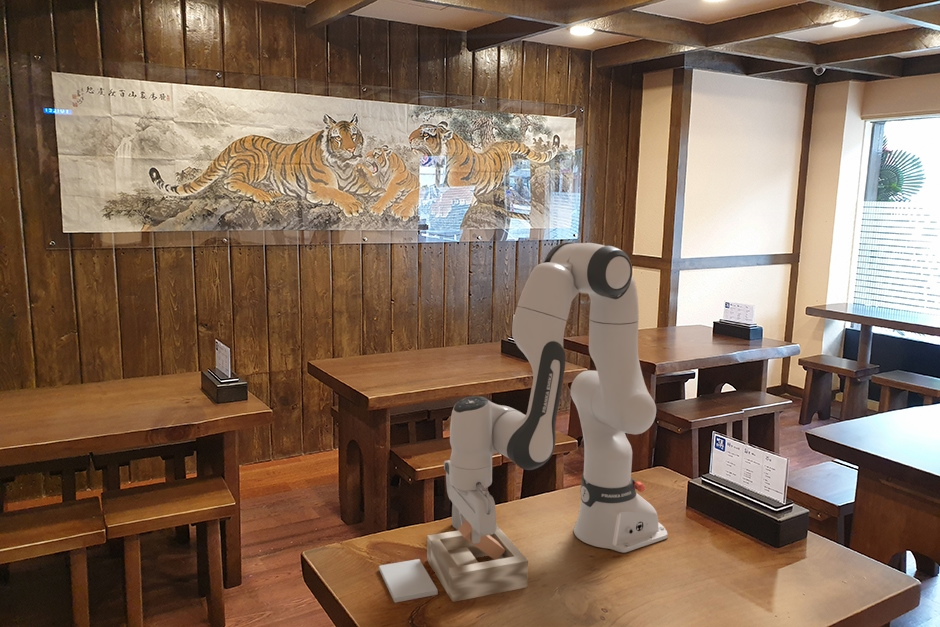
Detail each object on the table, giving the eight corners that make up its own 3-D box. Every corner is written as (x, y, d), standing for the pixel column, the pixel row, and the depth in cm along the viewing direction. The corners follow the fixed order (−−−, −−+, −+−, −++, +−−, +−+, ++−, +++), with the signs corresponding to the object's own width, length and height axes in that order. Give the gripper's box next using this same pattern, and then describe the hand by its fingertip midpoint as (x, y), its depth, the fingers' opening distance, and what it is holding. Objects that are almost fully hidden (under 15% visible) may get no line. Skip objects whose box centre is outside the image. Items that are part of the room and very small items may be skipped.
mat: (419, 563, 157) (419, 558, 157) (437, 594, 145) (437, 589, 145) (379, 570, 154) (379, 565, 154) (394, 602, 142) (394, 598, 142)
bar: (489, 552, 156) (498, 541, 156) (496, 561, 152) (505, 550, 153) (458, 529, 152) (466, 518, 152) (464, 538, 148) (473, 526, 149)
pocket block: (495, 548, 164) (496, 524, 163) (527, 587, 148) (528, 560, 147) (427, 560, 158) (427, 535, 157) (452, 601, 142) (453, 574, 141)
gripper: (504, 492, 140) (503, 556, 143) (468, 455, 159) (467, 513, 162) (474, 496, 138) (474, 562, 141) (441, 459, 157) (441, 517, 159)
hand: (470, 535), depth 151 cm, fingers closed on bar, 4 cm apart
